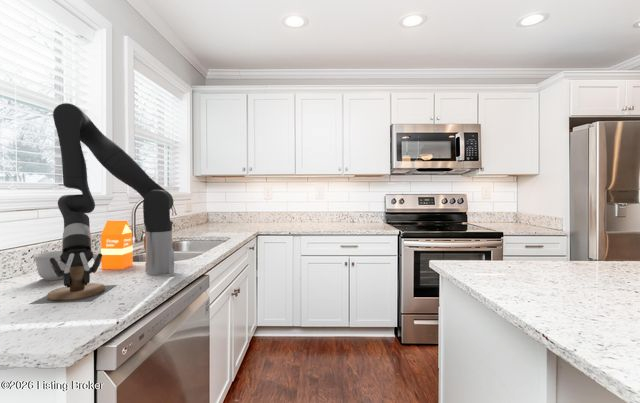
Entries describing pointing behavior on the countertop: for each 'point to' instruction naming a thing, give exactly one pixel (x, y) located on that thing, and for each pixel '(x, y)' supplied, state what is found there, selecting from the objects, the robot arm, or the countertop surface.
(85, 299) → the rubber mat
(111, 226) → the orange juice
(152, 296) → the countertop surface
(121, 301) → the countertop surface
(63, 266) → the teacup
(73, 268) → the walnut lid
